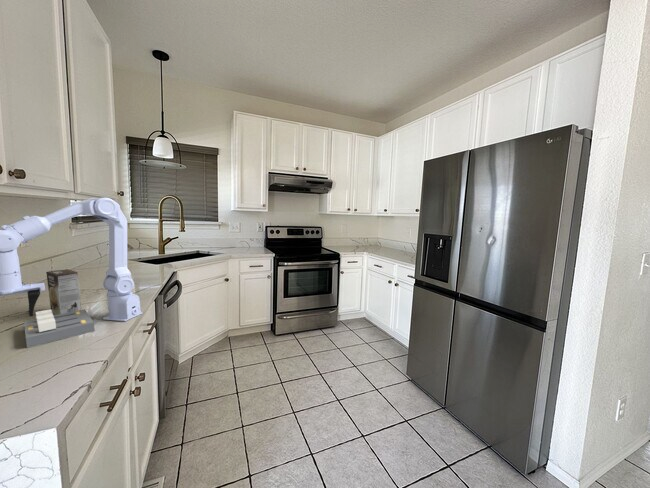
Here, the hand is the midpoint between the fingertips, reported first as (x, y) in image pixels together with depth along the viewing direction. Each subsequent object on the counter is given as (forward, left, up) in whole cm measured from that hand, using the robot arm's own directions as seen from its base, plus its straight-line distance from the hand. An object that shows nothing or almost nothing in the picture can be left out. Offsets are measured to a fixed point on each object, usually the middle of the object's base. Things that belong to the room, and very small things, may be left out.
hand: (11, 319), depth 76 cm
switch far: (+5, -12, -5) cm, 14 cm away
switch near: (-4, -6, -5) cm, 8 cm away
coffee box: (+14, -25, -9) cm, 30 cm away
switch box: (-1, -11, -8) cm, 14 cm away
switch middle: (+1, -9, -5) cm, 10 cm away
